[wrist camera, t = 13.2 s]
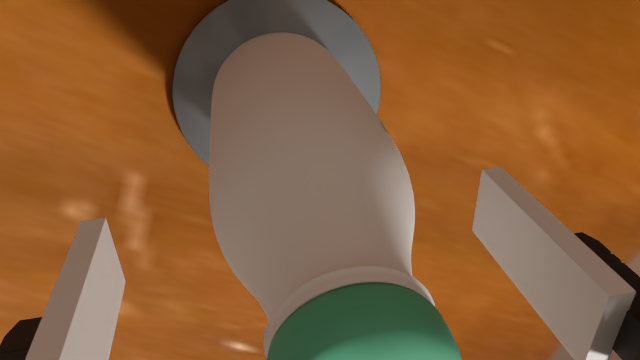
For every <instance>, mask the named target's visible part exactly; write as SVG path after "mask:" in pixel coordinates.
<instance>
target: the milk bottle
mask: <svg viewBox="0 0 640 360" xmlns="http://www.w3.org/2000/svg"><path fill="white" fill-rule="evenodd" d="M209 201H210V212H211V218H212V223H213V228H214V232H215V236H216V238H217V241H218V243H219V246H220V249H221V251H222V254H223V255H224V257H225V259H226V261H227V263H228V265H229V266H230V268H231V270H232V271H233V272H234V274H235V275H236V277H237V278H238V279H239V280H240V282H241V283H242V284H243V285H244V286H245V287H246V289H247V290H248V291H249V292H250V293H251V294H252V295H253V296H254V297H255V299H256V300H257V301H258V303H259V304H260V306H261V307H262V309H263V311H264V312H265V314H266V316H267V318H268V321H269V322H268V324H267V327H266V330H265V334H264V343H263V344H264V352H265V356H266V359H267V360H462V359H461V354H460V351H459V349H458V346H457V344H456V342H455V340H454V338H453V336H452V334H451V331H450V330H449V328H448V326H447V324H446V323H445V321H444V319H443V318H442V316H441V314H440V313H439V311H438V310H437V309H436V307H435V304H434V301H433V298H432V296H431V295H430V293H429V291H428V290H427V289H426V287H425V286H424V285H423V284H422V283H421V282H419V281H418V280H417V279H416V278H414V277H413V276H412V269H411V248H412V241H413V234H414V224H415V207H414V195H413V191H412V186H411V182H410V177H409V174H408V171H407V169H406V166H405V164H404V161H403V159H402V156H401V154H400V152H399V150H398V148H397V147H396V145H395V143H394V142H393V140H392V138H391V137H390V135H389V133H388V132H387V130H386V129H385V127H384V125H383V124H382V122H381V121H380V119H379V118H378V117H377V115H376V114H375V112H374V111H373V109H372V108H371V107H370V105H369V104H368V102H367V101H366V99H365V98H364V97H363V95H362V94H361V92H360V91H359V90H358V88H357V87H356V85H355V84H354V83H353V81H352V80H351V79H350V77H349V76H348V74H347V73H346V72H345V70H344V69H343V68H342V66H341V65H340V64H339V62H338V61H337V60H336V59H335V58H334V56H333V55H332V54H331V53H330V52H329V51H328V50H327V49H326V48H324V47H323V46H322V45H320V44H319V43H317V42H316V41H314V40H312V39H310V38H308V37H305V36H302V35H299V34H294V33H286V32H276V33H268V34H264V35H260V36H258V37H255V38H253V39H250V40H248V41H247V42H245V43H243V44H242V45H240V46H239V47H238V48H236V49H235V50H234V51H233V52H232V53H231V54H230V55H229V56H228V57H227V59H226V60H225V61H224V63H223V64H222V66H221V68H220V69H219V71H218V74H217V76H216V79H215V82H214V87H213V93H212V103H211V122H210V145H209Z"/></svg>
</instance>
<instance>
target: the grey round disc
mask: <svg viewBox="0 0 640 360" xmlns="http://www.w3.org/2000/svg"><path fill="white" fill-rule="evenodd" d="M276 32H286V33H294V34H299V35H302V36H305V37H308V38H310V39H312V40H314V41H316V42H317V43H319V44H320V45H322V46H323V47H324V48H326V49H327V50H328V51H329V52H330V53H331V54H332V55H333V56H334V58H335V59H336V60H337V61H338V62H339V64H340V65H341V66H342V68H343V69H344V70H345V72H346V73H347V74H348V76H349V77H350V79H351V80H352V81H353V83H354V84H355V85H356V87H357V88H358V90H359V91H360V92H361V94H362V95H363V97H364V98H365V99H366V101H367V102H368V104H369V105H370V107H371V108H372V109H373V111H374V112H375V114H376V115H377V111H378V106H379V101H380V91H381V88H380V74H379V68H378V63H377V60H376V57H375V54H374V51H373V49H372V47H371V45H370V43H369V40H368V39H367V37H366V36H365V34H364V33H363V31H362V30H361V28H360V27H359V26H358V25H357V24H356V23H355V22H354V20H353V19H352V18H351V17H349V16H348V15H347V14H346V13H345V12H344V11H342V10H341V9H340V8H339V7H337V6H336V5H334V4H333V3H331V2H330V1H328V0H227V1H225V2H223V3H222V4H220V5H218V6H217V7H215V8H214V9H213V10H212V11H210V12H209V13H208V14H207V15H206V16H204V17H203V18H202V20H201V21H200V22H199V23H198V24H197V25H196V26H195V27H194V29H193V30H192V32H191V33H190V35H189V36H188V38H187V39H186V41H185V43H184V45H183V47H182V49H181V51H180V54H179V57H178V61H177V64H176V67H175V72H174V78H173V103H174V110H175V114H176V118H177V121H178V124H179V126H180V129H181V131H182V133H183V135H184V137H185V139H186V140H187V142H188V144H189V145H190V147H191V148H192V149H193V150H194V152H195V153H196V154H197V155H198V156H199V157H200V158H201V159H202V160H203V161H204V162H205V163H206V164H207V165H208V166H209V145H210V122H211V103H212V93H213V87H214V82H215V79H216V76H217V74H218V71H219V69H220V68H221V66H222V64H223V63H224V61H225V60H226V59H227V57H228V56H229V55H230V54H231V53H232V52H233V51H234V50H235V49H236V48H238V47H239V46H240V45H242V44H243V43H245V42H247V41H248V40H250V39H253V38H255V37H258V36H260V35H264V34H268V33H276Z"/></svg>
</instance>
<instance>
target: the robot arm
mask: <svg viewBox="0 0 640 360" xmlns="http://www.w3.org/2000/svg"><path fill="white" fill-rule="evenodd" d="M472 231H473V232H474V234H475V235H476V236H477V237H478V239H479V240H480V241H481V242H482V244H483V245H484V246H485V247H486V249H487V250H488V251H489V253H490V254H491V255H492V256H493V258H494V259H495V260H496V261H497V263H498V264H499V265H500V266H501V268H502V269H503V270H504V272H505V273H506V274H507V275H508V277H509V278H510V279H511V280H512V282H513V283H514V284H515V285H516V287H517V288H518V289H519V290H520V292H521V293H522V294H523V296H524V297H525V298H526V299H527V301H528V302H529V303H530V304H531V306H532V307H533V308H534V309H535V311H536V312H537V313H538V315H539V316H540V317H541V318H542V320H543V321H544V322H545V323H546V325H547V326H548V327H549V328H550V330H551V331H552V332H553V334H554V335H555V336H556V337H557V339H558V340H559V341H560V342H561V344H562V345H563V346H564V347H565V349H566V350H567V351H568V353H569V354H570V355H571V356H572V358H573V359H574V360H609V357H610V355H611V352H612V350H614V351H615V352H616V353H617V354H618V356H619V357H620V358H621V359H622V360H640V277H639V276H638V275H637V274H636V273H634V272H633V271H632V270H631V269H630V268H629V267H628V266H627V265H625V264H624V263H621V260H620V259H619V258H617V257H616V256H615V255H614V254H611V251H609V250H608V249H607V248H606V247H605V246H604V245H603V244H602V243H600V242H599V241H598V240H596V239H594V238H592V237H590V236H588V235H586V234H584V233H582V232H581V233H574V234H573V233H572V232H571V231H570V230H569V229H568V228H567V227H566V226H565V225H564V224H563V223H561V222H560V221H559V220H558V219H557V218H556V217H555V216H554V215H553V214H552V213H551V212H550V211H548V210H547V209H546V208H545V207H544V206H543V205H542V204H541V203H540V202H539V201H538V200H537V199H535V198H534V197H533V196H532V195H531V194H530V193H529V192H528V191H527V190H526V189H525V188H523V187H522V186H521V185H520V184H519V183H518V182H517V181H516V180H515V179H514V178H513V177H512V176H510V175H509V174H508V173H507V172H506V171H505V170H504V169H503V168H502V167H498V168H490V169H483V170H482V172H481V179H480V185H479V191H478V197H477V203H476V209H475V216H474V222H473V228H472ZM124 287H125V278H124V275H123V272H122V269H121V265H120V262H119V259H118V256H117V253H116V249H115V246H114V243H113V240H112V236H111V233H110V230H109V227H108V224H107V220H106V218H101V219H93V220H85V221H81V222H80V224H79V227H78V229H77V232H76V234H75V237H74V239H73V242H72V244H71V247H70V249H69V252H68V254H67V257H66V259H65V262H64V264H63V267H62V269H61V272H60V274H59V277H58V279H57V282H56V284H55V287H54V289H53V291H52V294H51V296H50V299H49V301H48V304H47V306H46V309H45V311H44V314H43V316H42V317H40V318H33V319H27V320H20V321H19V322H18V323H17V324H16V325H15V326H14V327H13V328H12V329H11V330H10V331H9V332H8V333H7V334H6V336H5V337H4V339H3V341H2V343H1V345H0V360H108V359H109V355H110V350H111V346H112V341H113V337H114V332H115V328H116V323H117V319H118V314H119V310H120V305H121V301H122V296H123V291H124Z"/></svg>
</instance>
